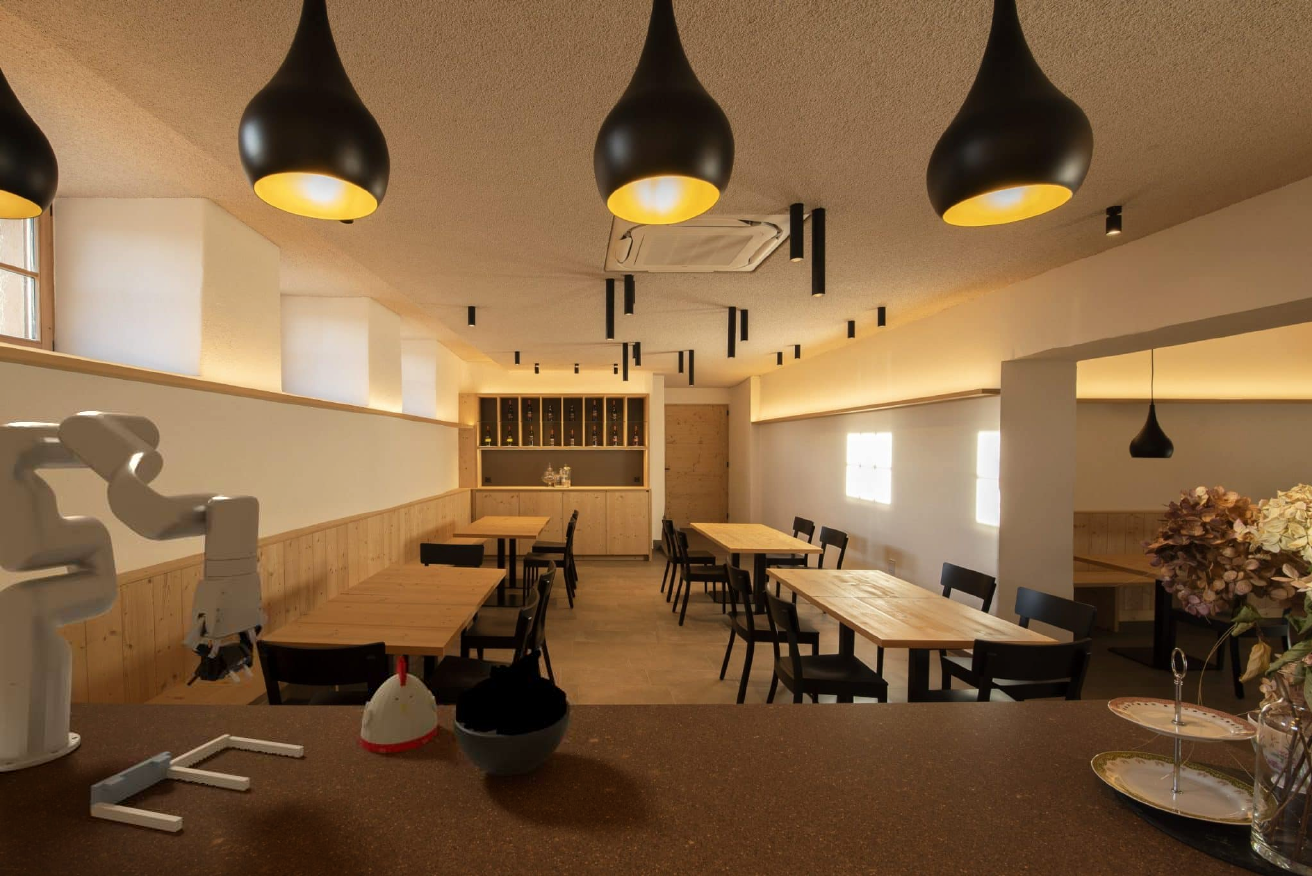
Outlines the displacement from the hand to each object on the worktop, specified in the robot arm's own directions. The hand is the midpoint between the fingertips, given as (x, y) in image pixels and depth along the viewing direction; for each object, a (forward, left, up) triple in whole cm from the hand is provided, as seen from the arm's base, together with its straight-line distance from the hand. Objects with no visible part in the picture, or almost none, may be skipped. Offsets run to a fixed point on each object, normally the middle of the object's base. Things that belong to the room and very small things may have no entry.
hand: (227, 672), depth 102 cm
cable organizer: (0, -3, -17) cm, 17 cm away
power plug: (-2, 0, -2) cm, 3 cm away
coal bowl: (+47, +14, -18) cm, 52 cm away
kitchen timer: (+20, +20, -18) cm, 33 cm away
